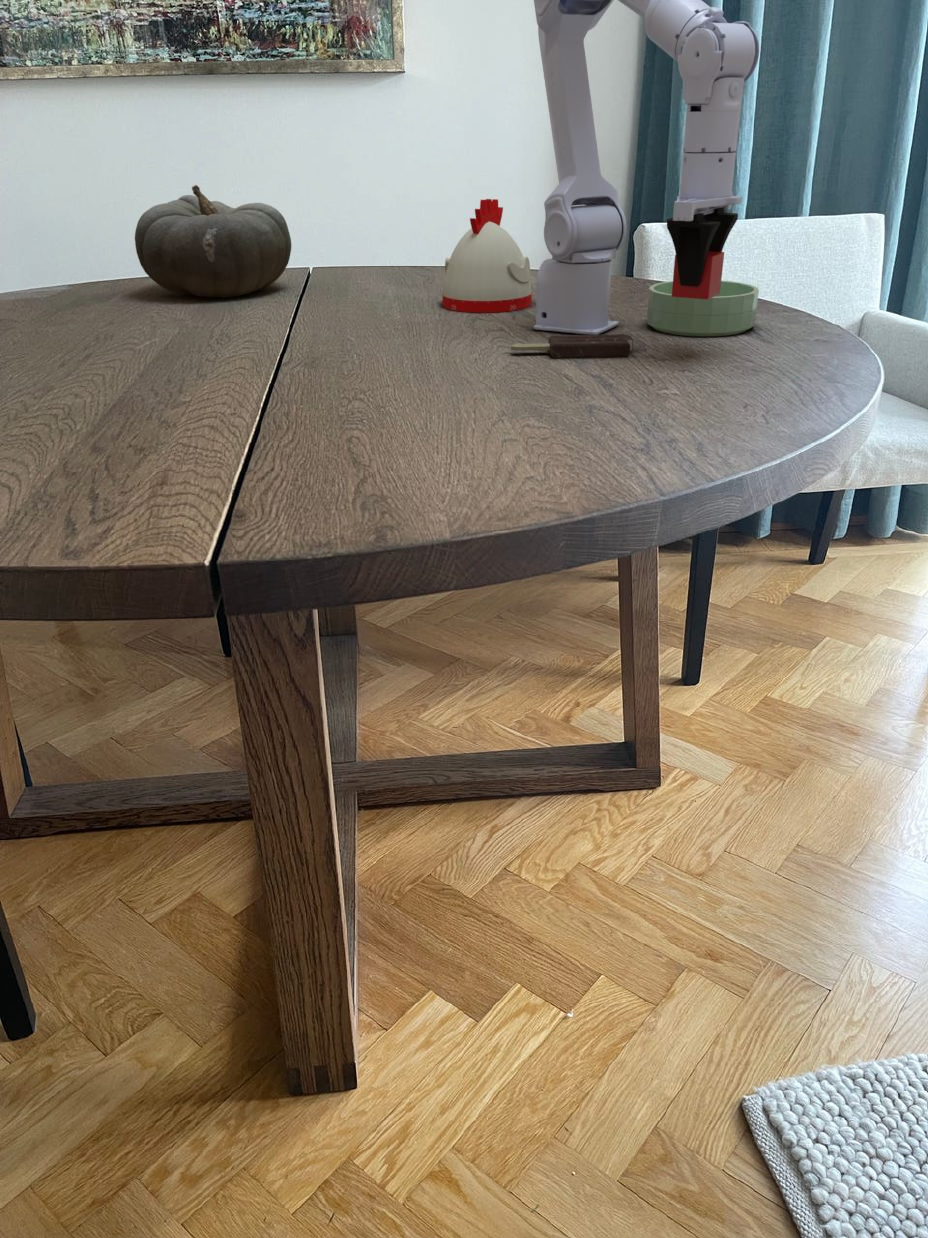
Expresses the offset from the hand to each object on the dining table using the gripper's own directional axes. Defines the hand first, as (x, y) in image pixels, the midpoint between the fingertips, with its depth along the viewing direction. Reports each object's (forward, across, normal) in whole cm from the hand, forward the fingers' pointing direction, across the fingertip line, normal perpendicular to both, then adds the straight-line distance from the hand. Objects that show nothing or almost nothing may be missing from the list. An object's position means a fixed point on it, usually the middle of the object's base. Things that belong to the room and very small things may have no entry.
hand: (696, 282), depth 108 cm
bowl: (+8, +17, +4) cm, 19 cm away
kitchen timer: (+9, +20, +39) cm, 45 cm away
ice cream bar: (+8, -5, +13) cm, 17 cm away
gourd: (+9, +11, +87) cm, 88 cm away
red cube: (+1, 0, 0) cm, 1 cm away
